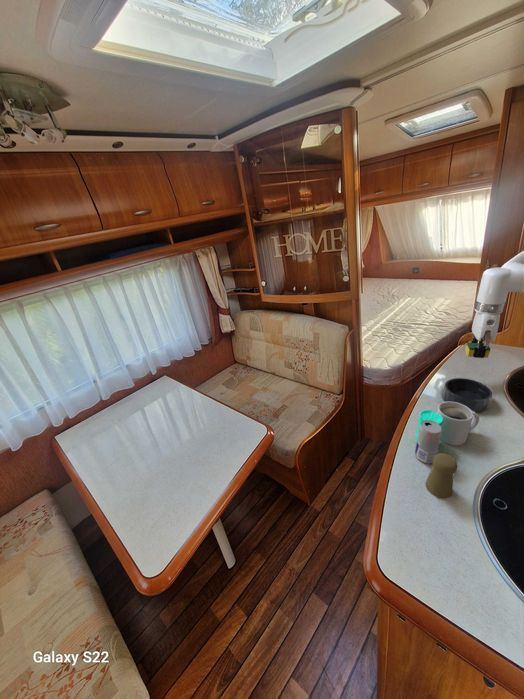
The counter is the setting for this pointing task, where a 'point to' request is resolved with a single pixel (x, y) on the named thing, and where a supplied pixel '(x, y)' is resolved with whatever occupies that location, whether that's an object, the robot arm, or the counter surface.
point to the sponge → (471, 347)
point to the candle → (428, 416)
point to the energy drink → (428, 441)
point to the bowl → (468, 394)
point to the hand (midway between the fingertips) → (476, 353)
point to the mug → (456, 422)
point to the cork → (441, 476)
